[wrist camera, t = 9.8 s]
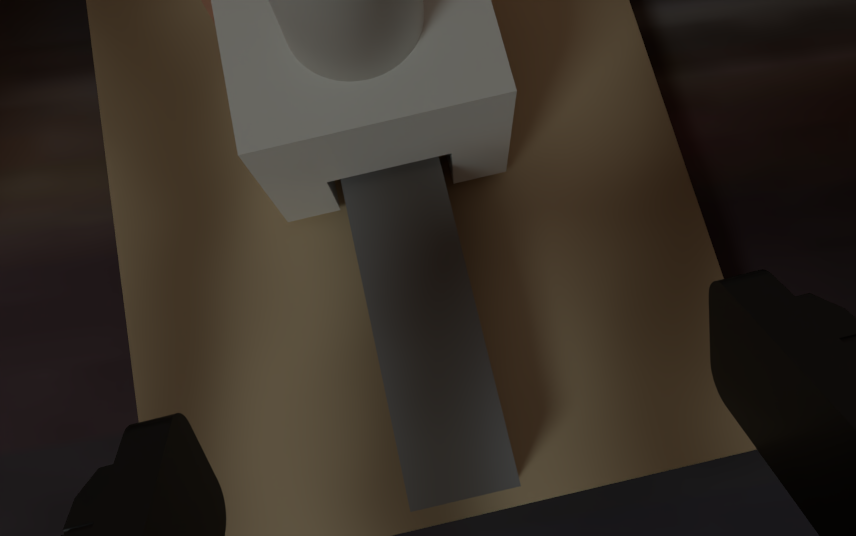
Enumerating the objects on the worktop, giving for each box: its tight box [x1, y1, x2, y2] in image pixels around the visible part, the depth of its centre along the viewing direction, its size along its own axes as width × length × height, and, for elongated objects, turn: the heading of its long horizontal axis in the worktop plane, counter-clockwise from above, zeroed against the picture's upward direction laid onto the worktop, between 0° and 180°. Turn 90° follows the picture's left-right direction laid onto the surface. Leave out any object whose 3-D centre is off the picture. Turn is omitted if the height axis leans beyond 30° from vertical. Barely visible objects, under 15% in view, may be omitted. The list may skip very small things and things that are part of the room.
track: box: [86, 0, 756, 536], centre depth 18 cm, size 15×17×6 cm
